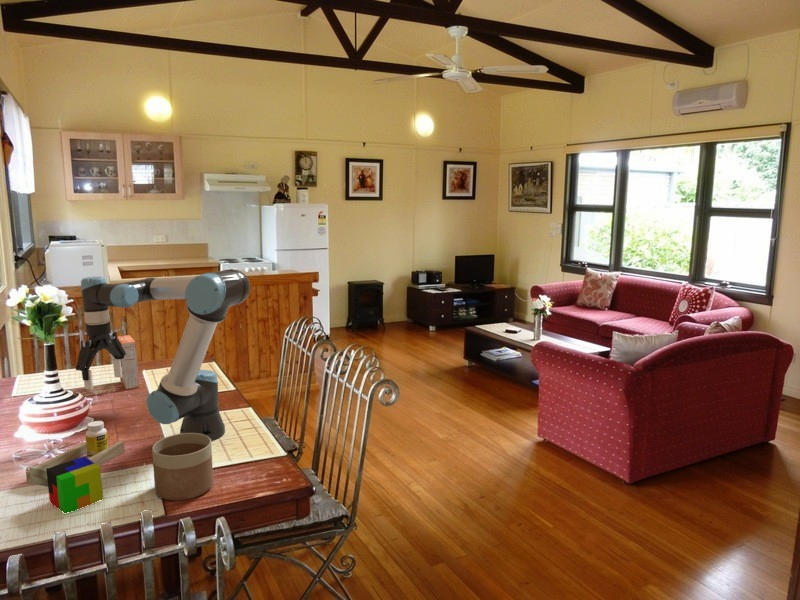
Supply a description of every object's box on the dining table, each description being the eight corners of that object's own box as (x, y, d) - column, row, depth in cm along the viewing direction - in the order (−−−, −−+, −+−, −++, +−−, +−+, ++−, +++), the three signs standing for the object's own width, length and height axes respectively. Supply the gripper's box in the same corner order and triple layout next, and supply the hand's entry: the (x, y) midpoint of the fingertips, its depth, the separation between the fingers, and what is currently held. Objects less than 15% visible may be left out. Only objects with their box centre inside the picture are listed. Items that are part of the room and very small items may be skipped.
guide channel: (124, 451, 195) (123, 437, 194) (59, 488, 171) (58, 472, 170) (94, 446, 199) (93, 432, 198) (27, 482, 174) (25, 467, 173)
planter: (165, 476, 179) (162, 433, 176) (218, 474, 180) (216, 432, 178) (147, 503, 163) (143, 456, 161) (205, 501, 165) (203, 455, 162)
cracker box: (119, 381, 266) (115, 336, 262) (133, 379, 269) (130, 334, 266) (124, 390, 255) (120, 343, 251) (139, 387, 258) (136, 341, 254)
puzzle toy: (87, 488, 171) (84, 456, 169) (103, 500, 165) (100, 466, 163) (49, 502, 164) (46, 468, 162) (65, 515, 157) (61, 480, 155)
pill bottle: (100, 460, 189) (97, 428, 187) (83, 458, 190) (79, 426, 188) (113, 452, 195) (110, 420, 193) (96, 450, 196) (93, 419, 194)
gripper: (115, 315, 213) (121, 371, 217) (58, 330, 190) (66, 393, 193) (132, 315, 211) (138, 373, 215) (77, 331, 188) (85, 395, 191)
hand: (104, 382), depth 204 cm, fingers open, 13 cm apart
